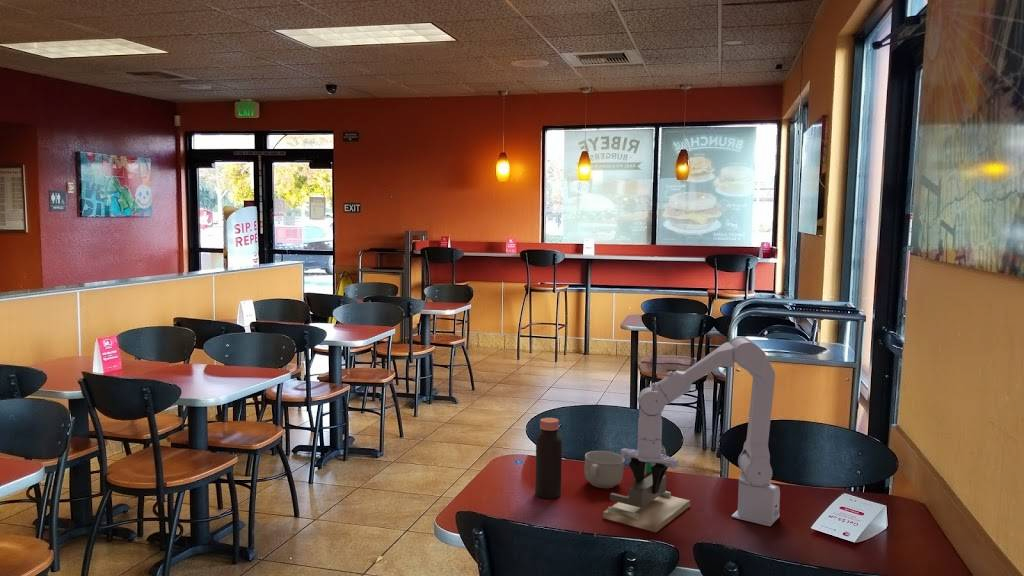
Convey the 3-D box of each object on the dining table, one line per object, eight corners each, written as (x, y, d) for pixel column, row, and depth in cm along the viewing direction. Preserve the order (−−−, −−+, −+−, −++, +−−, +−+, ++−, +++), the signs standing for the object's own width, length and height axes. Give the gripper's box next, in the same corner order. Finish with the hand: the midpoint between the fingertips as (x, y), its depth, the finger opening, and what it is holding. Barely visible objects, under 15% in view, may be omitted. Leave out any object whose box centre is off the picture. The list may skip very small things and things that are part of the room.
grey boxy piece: (665, 491, 194) (666, 475, 194) (641, 507, 183) (642, 491, 183) (635, 483, 199) (635, 468, 199) (609, 499, 188) (610, 484, 188)
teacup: (598, 475, 217) (598, 447, 216) (631, 484, 210) (632, 455, 209) (569, 488, 206) (570, 459, 205) (603, 498, 199) (604, 468, 198)
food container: (669, 489, 206) (670, 453, 205) (646, 489, 206) (647, 453, 205) (661, 474, 218) (662, 440, 217) (639, 473, 218) (640, 439, 217)
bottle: (565, 497, 199) (566, 422, 197) (541, 500, 197) (542, 424, 195) (554, 488, 205) (555, 415, 203) (531, 491, 203) (532, 417, 201)
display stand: (689, 506, 194) (690, 495, 194) (656, 532, 178) (656, 521, 178) (639, 493, 202) (639, 484, 202) (602, 517, 186) (603, 507, 186)
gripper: (615, 435, 189) (614, 488, 191) (670, 446, 181) (668, 502, 182) (628, 429, 195) (627, 481, 196) (682, 439, 187) (680, 493, 188)
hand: (647, 490), depth 190 cm, fingers closed on grey boxy piece, 3 cm apart
